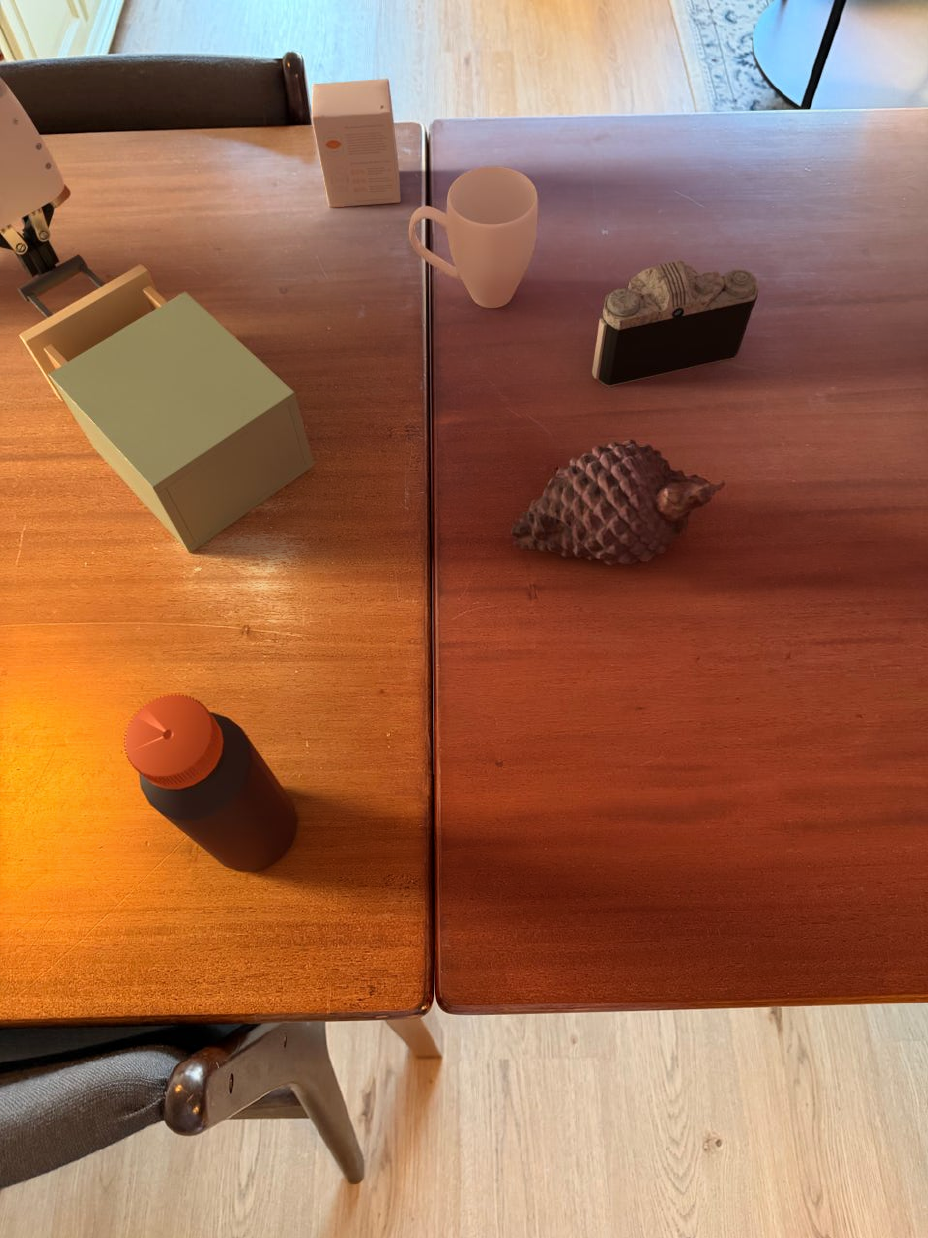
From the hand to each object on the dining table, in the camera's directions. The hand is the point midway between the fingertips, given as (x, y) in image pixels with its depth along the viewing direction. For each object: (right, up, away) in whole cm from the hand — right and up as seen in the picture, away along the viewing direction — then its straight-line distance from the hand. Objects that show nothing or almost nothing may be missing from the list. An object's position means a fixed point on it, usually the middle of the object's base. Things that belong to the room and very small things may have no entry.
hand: (47, 273), depth 86 cm
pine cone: (+52, -25, -8) cm, 59 cm away
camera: (+59, -7, +2) cm, 59 cm away
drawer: (+8, -10, 0) cm, 13 cm away
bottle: (+24, -49, -19) cm, 57 cm away
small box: (+29, +14, +13) cm, 35 cm away
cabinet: (+16, -18, -3) cm, 24 cm away
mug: (+41, 0, +6) cm, 41 cm away
